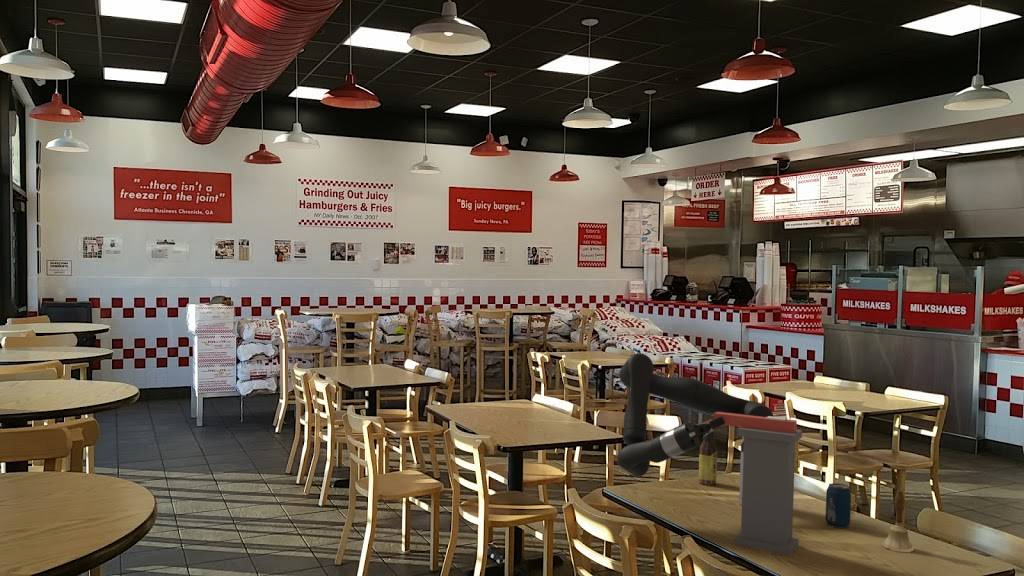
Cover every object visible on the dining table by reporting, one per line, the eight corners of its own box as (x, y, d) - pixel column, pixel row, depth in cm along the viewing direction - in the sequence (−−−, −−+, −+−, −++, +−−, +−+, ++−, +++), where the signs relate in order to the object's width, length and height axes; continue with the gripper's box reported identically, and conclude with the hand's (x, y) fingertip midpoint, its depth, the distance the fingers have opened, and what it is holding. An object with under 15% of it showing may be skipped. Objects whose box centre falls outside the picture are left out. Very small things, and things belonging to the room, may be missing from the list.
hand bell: (921, 552, 222) (923, 494, 221) (893, 553, 220) (895, 494, 220) (901, 542, 230) (903, 486, 230) (875, 543, 228) (877, 486, 228)
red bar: (713, 423, 230) (713, 411, 230) (717, 422, 233) (717, 410, 233) (793, 433, 219) (793, 420, 219) (796, 431, 222) (796, 419, 222)
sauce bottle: (716, 486, 287) (718, 430, 287) (698, 485, 288) (700, 429, 288) (715, 482, 294) (717, 427, 293) (698, 480, 295) (699, 426, 295)
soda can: (850, 524, 246) (851, 484, 246) (849, 530, 240) (850, 489, 240) (826, 520, 249) (827, 481, 249) (824, 526, 243) (825, 486, 243)
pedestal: (734, 544, 224) (737, 428, 223) (744, 535, 232) (747, 423, 232) (790, 555, 216) (794, 435, 215) (798, 545, 224) (802, 430, 224)
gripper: (665, 431, 232) (714, 408, 224) (681, 424, 244) (729, 402, 237) (677, 456, 230) (727, 433, 223) (693, 447, 242) (741, 426, 235)
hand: (728, 417), depth 230 cm, fingers open, 8 cm apart
